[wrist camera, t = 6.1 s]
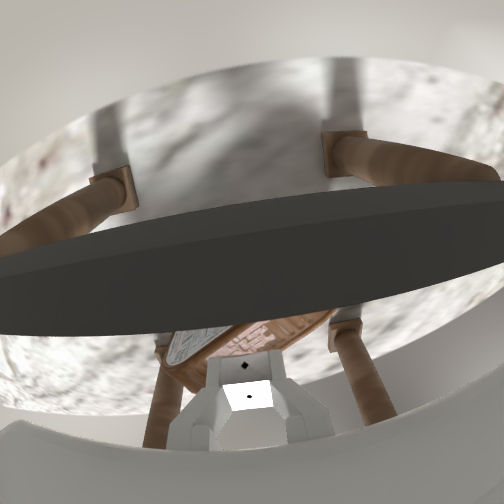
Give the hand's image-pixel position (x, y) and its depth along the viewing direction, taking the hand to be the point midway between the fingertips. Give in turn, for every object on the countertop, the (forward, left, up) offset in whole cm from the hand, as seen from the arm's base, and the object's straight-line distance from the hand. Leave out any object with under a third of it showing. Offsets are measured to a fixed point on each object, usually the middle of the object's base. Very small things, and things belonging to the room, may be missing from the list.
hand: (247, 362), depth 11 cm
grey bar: (0, -6, +3) cm, 7 cm away
